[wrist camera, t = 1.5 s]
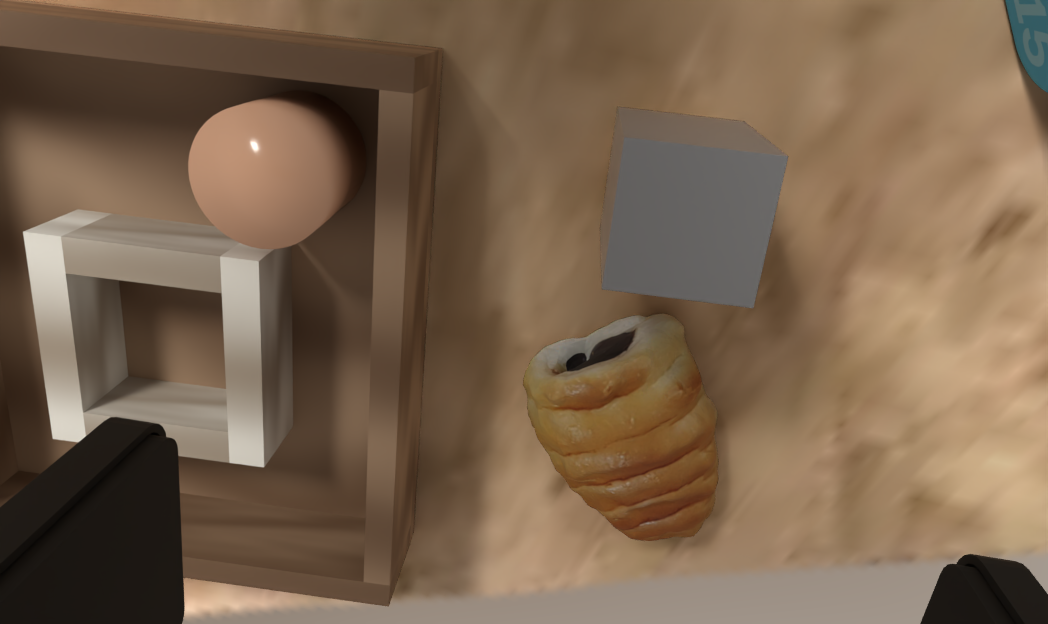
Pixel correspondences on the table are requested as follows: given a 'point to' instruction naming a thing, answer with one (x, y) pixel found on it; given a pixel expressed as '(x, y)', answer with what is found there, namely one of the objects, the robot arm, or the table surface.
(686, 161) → the gray block
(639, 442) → the pastry
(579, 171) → the table surface
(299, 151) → the ball
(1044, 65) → the data package
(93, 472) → the robot arm
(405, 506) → the crate
